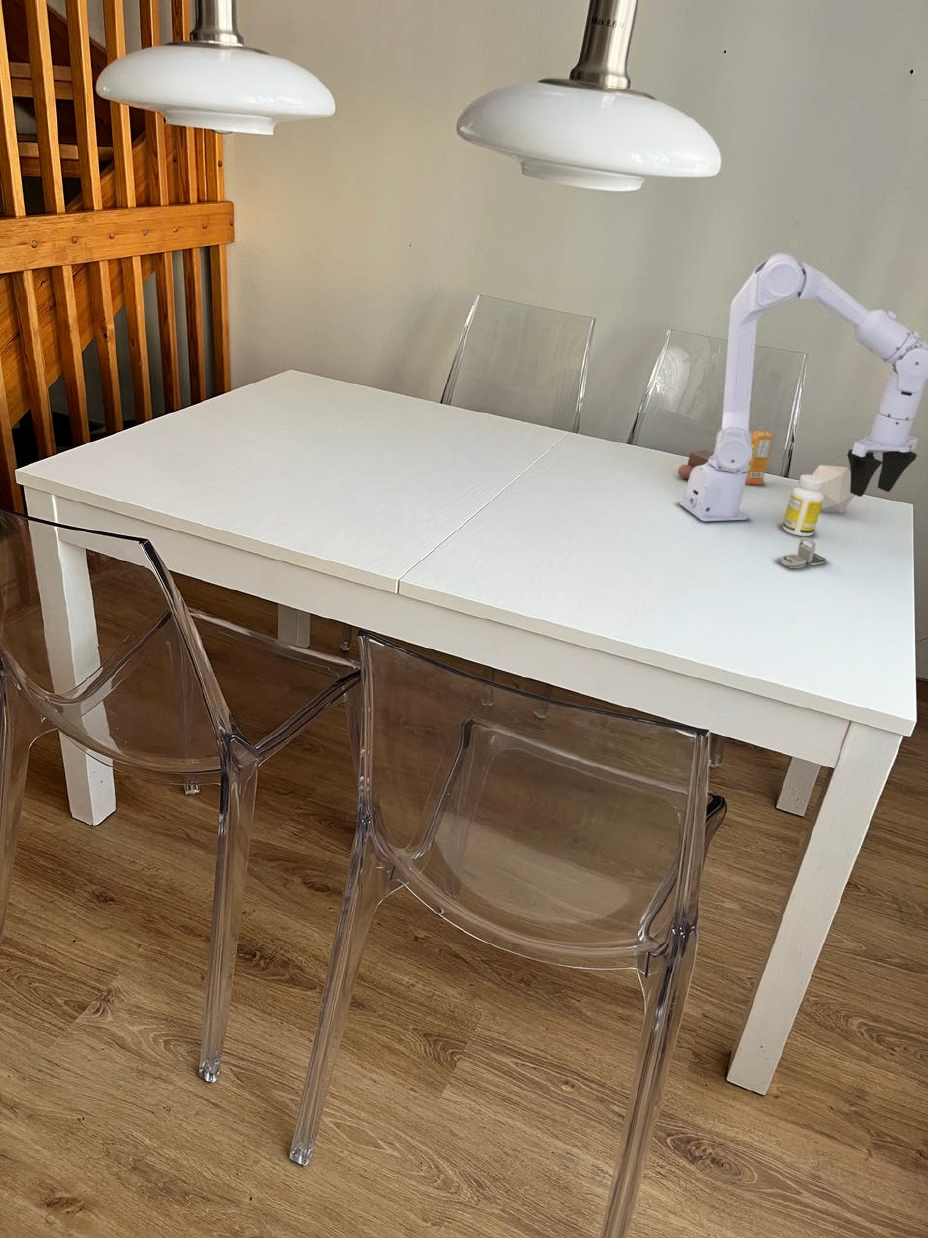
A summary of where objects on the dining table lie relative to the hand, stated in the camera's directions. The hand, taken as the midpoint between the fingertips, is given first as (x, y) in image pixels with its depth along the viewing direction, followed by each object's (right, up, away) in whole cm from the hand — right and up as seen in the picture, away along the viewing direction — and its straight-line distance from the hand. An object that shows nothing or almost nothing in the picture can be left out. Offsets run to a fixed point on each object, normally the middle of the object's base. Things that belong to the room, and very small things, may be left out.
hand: (870, 492), depth 166 cm
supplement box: (-13, +5, +26) cm, 29 cm away
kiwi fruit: (-26, +6, +23) cm, 35 cm away
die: (-2, -1, +17) cm, 17 cm away
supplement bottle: (-11, -6, +5) cm, 14 cm away
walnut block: (-23, +6, +24) cm, 33 cm away
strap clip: (-14, -13, -7) cm, 21 cm away
